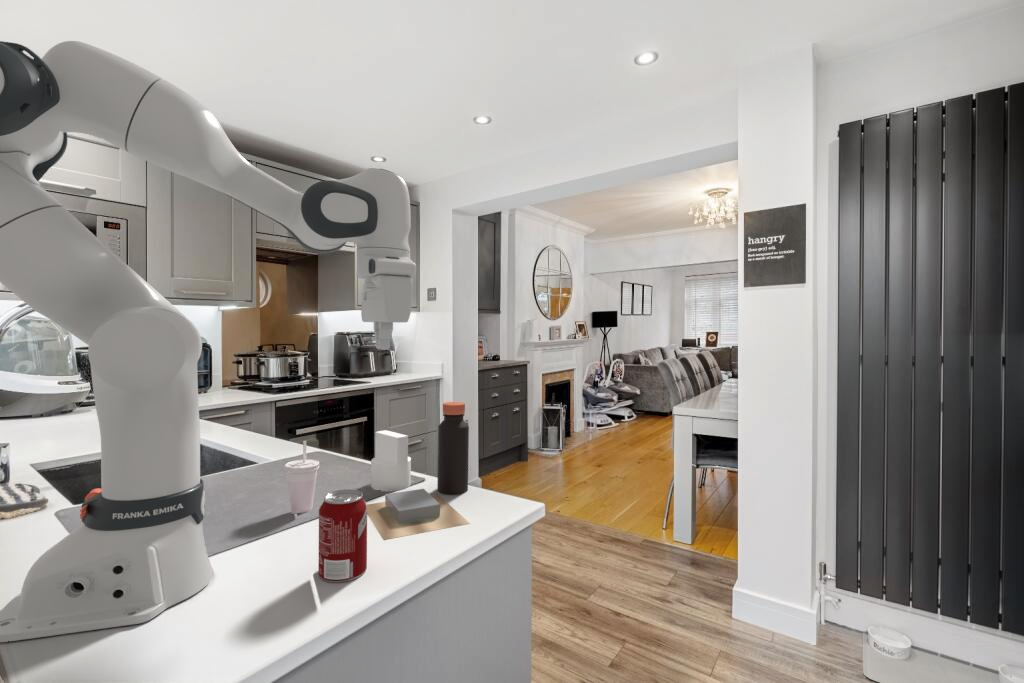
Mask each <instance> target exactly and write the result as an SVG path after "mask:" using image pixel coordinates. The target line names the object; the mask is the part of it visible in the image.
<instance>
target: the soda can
mask: <svg viewBox="0 0 1024 683" xmlns="http://www.w3.org/2000/svg"><path fill="white" fill-rule="evenodd" d="M363 497H364V493H363V492H362V491H361V490H358V489H350V488H349V489H339V490H333V491H331V492H327V493H326V494H324V495H323V502H322V504H321V505H320V507H319V509H318V578H319V579H321V580H322V582H327V583H330V584H331V583H332V584H340V583H341V584H342V583H348V582H350V581H355V580H357V579H358V578H360V577H361V576H363V575H364V574H365V573H366V571H367V568H368V565H367V564H368V563H367V562H368V555H367V553H368V514H367V502H366V501H365V499H364V498H363Z"/></svg>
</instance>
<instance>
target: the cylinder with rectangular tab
mask: <svg viewBox="0 0 1024 683" xmlns="http://www.w3.org/2000/svg"><path fill="white" fill-rule="evenodd" d="M374 439H375V440H374V441H375V448H374V451H375V452H374V456H375V457H373V458H372V459H371V460H370V463H371V464H370V487H372V488H373V489H372V488H371V489H372V490H374V489H376V490H375V491H377V490H381V491H380V492H394V491H393V490H396V491H402V490H406V489H408V488H409V487H410V486H411V484H412V483H411V482H412V481H411V476H412V475H411V474H412V473H411V472H412V468H411V467H412V457H410V456H409V435H407V434H403V433H399V432H395V431H391V430H385V429H384V430H379V431H375V438H374ZM391 490H392V491H391Z"/></svg>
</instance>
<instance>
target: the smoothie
mask: <svg viewBox="0 0 1024 683" xmlns="http://www.w3.org/2000/svg"><path fill="white" fill-rule="evenodd" d="M302 445H303V446H302V447H303V448H302V456H303V457H302V459H297V460H292V461H289V462H287V463H285V464H284V472H285V473H286V479H287V488H288V495H289V502H290V511H291V514H292V513H293V514H302V513H303V514H304V513H307V512H309V511H312V510H313V507H314V506H313V505H314V500H315V499H314V498H315V492H316V484H317V477H318V476H317V475H318V469H320V461H319V460H316V459H310V458H308V459H307V440H303V441H302Z"/></svg>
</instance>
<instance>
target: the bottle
mask: <svg viewBox="0 0 1024 683" xmlns="http://www.w3.org/2000/svg"><path fill="white" fill-rule="evenodd" d="M465 413H466V403H464V402H461V401H447V402H443V403H442V416H443V420H442V421H441V423H440V424H439V425H438V427H437V428H438V429H437V433H438V434H437V493H439V494H441V495H446V496H457V495H458V496H459V495H463V494H465V493H467V492H468V491H469V449H470V448H469V441H470V436H469V435H470V434H469V433H470V432H469V431H470V426H469V424H468V423H467V422H466V420H464V416H465Z"/></svg>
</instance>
